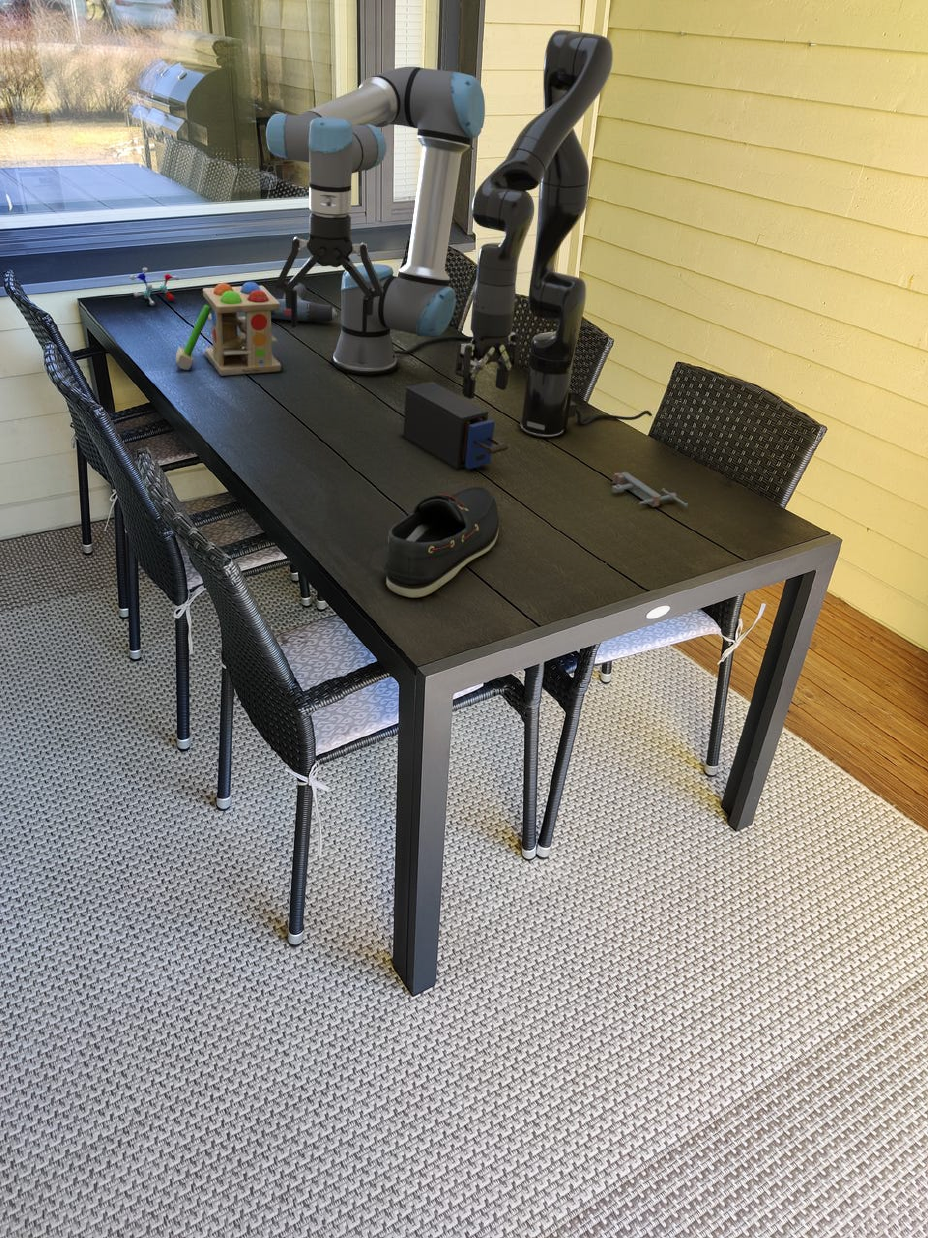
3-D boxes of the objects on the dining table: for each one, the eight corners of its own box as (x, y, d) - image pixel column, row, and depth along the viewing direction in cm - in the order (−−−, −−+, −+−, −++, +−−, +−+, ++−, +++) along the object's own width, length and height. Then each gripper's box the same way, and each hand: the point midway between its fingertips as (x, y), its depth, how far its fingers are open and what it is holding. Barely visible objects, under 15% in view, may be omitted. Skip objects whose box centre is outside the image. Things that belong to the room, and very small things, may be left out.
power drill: (344, 304, 276) (335, 327, 259) (277, 298, 275) (264, 321, 258) (344, 285, 273) (335, 306, 256) (277, 279, 272) (264, 300, 255)
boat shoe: (525, 530, 177) (530, 477, 171) (421, 604, 153) (423, 545, 147) (465, 510, 182) (468, 458, 177) (355, 579, 158) (355, 521, 153)
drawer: (507, 473, 193) (512, 430, 188) (485, 479, 190) (490, 436, 185) (438, 433, 206) (441, 392, 201) (417, 438, 203) (419, 397, 198)
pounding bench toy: (183, 379, 220) (176, 299, 210) (169, 357, 231) (162, 280, 221) (282, 371, 230) (280, 294, 220) (264, 350, 240) (262, 276, 230)
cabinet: (483, 461, 198) (488, 411, 192) (457, 469, 195) (461, 417, 188) (428, 430, 209) (432, 381, 203) (403, 436, 205) (405, 386, 199)
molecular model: (162, 296, 256) (148, 259, 255) (134, 310, 260) (120, 273, 259) (187, 299, 267) (174, 263, 265) (160, 312, 270) (147, 276, 269)
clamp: (601, 475, 192) (641, 467, 197) (599, 485, 194) (639, 477, 198) (649, 509, 182) (690, 500, 186) (647, 519, 183) (688, 510, 188)
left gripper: (258, 211, 175) (261, 329, 187) (397, 223, 177) (392, 339, 189) (264, 202, 181) (267, 317, 193) (399, 214, 183) (394, 326, 195)
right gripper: (479, 318, 168) (471, 407, 178) (535, 306, 177) (525, 391, 186) (449, 306, 173) (443, 393, 182) (506, 294, 181) (497, 379, 190)
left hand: (329, 328), depth 191 cm, fingers open, 13 cm apart
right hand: (484, 392), depth 184 cm, fingers open, 8 cm apart
